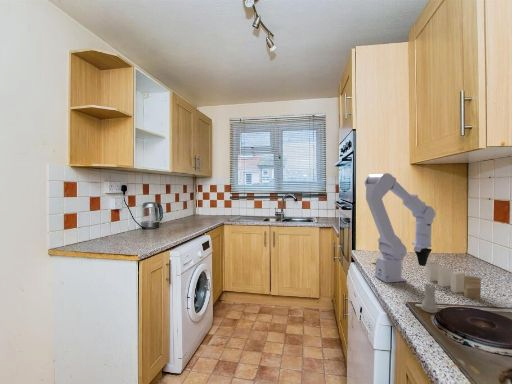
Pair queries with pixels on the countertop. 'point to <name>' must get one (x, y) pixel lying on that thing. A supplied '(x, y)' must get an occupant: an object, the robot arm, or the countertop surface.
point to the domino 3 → (457, 281)
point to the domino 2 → (444, 276)
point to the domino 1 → (432, 271)
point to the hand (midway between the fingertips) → (422, 265)
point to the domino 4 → (472, 287)
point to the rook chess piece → (429, 299)
